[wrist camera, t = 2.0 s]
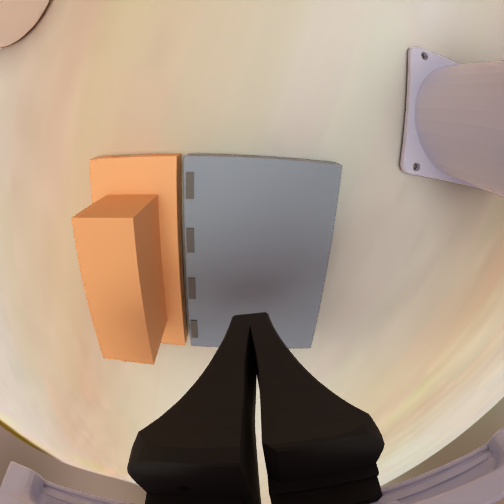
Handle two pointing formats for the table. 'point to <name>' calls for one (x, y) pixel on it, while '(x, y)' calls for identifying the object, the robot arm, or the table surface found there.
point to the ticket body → (257, 242)
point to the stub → (133, 255)
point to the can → (19, 18)
